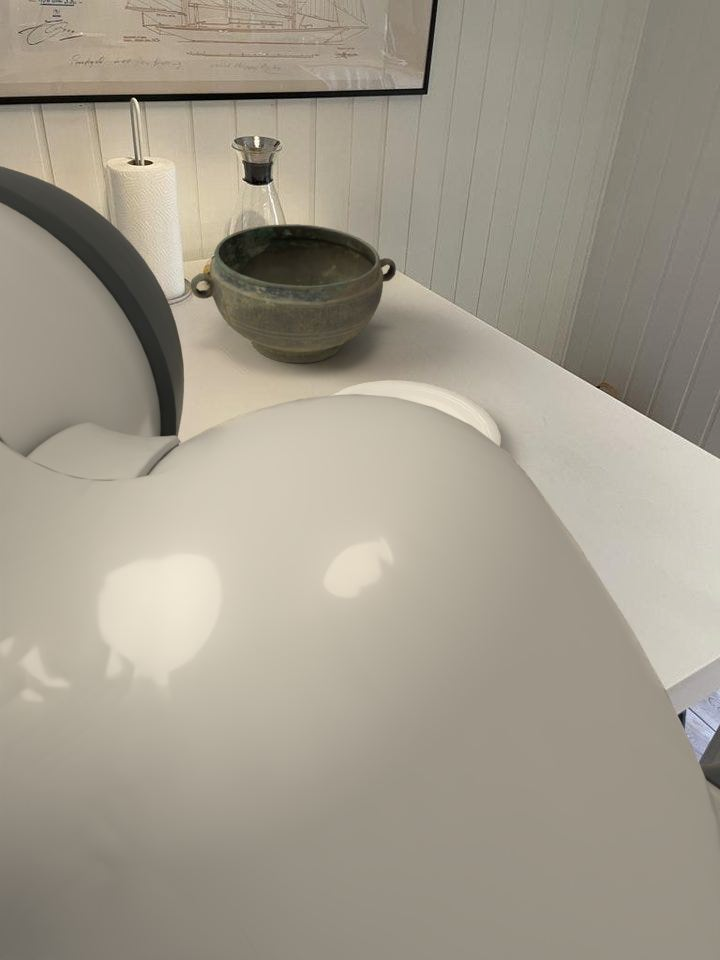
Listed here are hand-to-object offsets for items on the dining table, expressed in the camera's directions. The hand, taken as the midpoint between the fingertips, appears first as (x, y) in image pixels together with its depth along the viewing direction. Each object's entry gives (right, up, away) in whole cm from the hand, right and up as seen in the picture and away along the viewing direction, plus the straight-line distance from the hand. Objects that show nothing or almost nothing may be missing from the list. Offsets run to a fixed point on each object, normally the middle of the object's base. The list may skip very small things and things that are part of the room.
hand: (424, 829), depth 49 cm
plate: (+2, +28, +52) cm, 59 cm away
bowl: (-14, +45, +72) cm, 86 cm away
